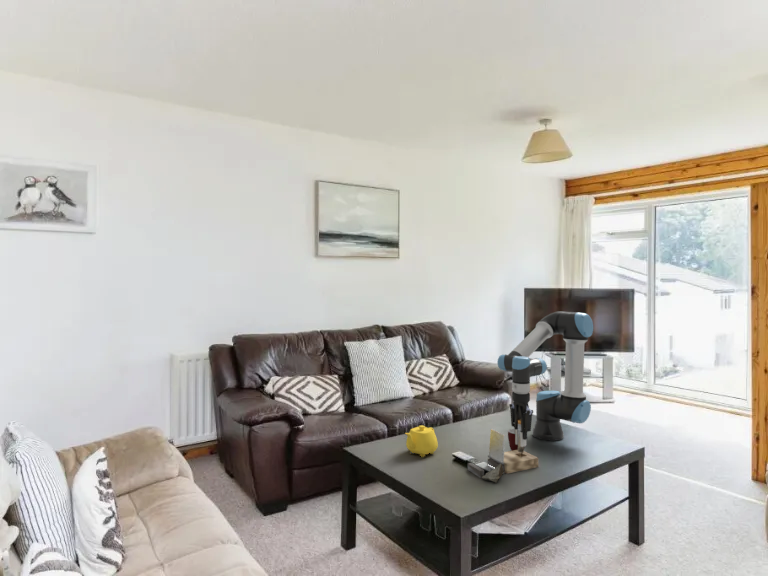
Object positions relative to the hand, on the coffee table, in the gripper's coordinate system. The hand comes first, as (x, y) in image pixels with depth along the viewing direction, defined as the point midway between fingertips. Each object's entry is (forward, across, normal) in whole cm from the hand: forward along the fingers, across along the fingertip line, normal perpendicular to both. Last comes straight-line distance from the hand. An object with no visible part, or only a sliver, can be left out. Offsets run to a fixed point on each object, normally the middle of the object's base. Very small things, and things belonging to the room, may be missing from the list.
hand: (520, 444), depth 220 cm
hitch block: (+9, 0, -10) cm, 13 cm away
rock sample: (+9, +9, -22) cm, 25 cm away
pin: (+3, 0, 0) cm, 3 cm away
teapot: (+9, -31, -34) cm, 47 cm away
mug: (+9, -11, +8) cm, 16 cm away
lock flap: (+5, 0, -14) cm, 14 cm away
